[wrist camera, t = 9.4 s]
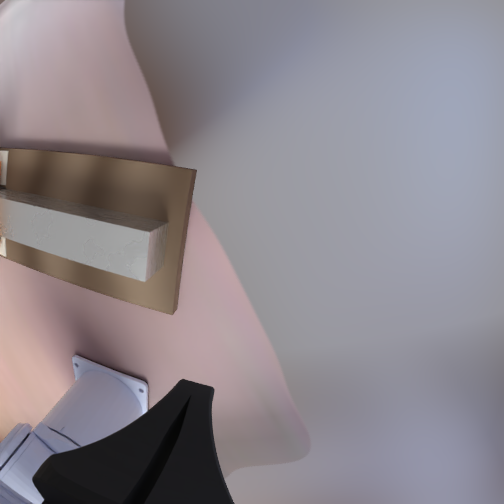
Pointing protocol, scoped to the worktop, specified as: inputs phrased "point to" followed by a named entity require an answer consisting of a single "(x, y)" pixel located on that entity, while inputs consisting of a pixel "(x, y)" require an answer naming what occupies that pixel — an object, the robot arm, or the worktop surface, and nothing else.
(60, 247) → the stand
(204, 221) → the worktop surface
